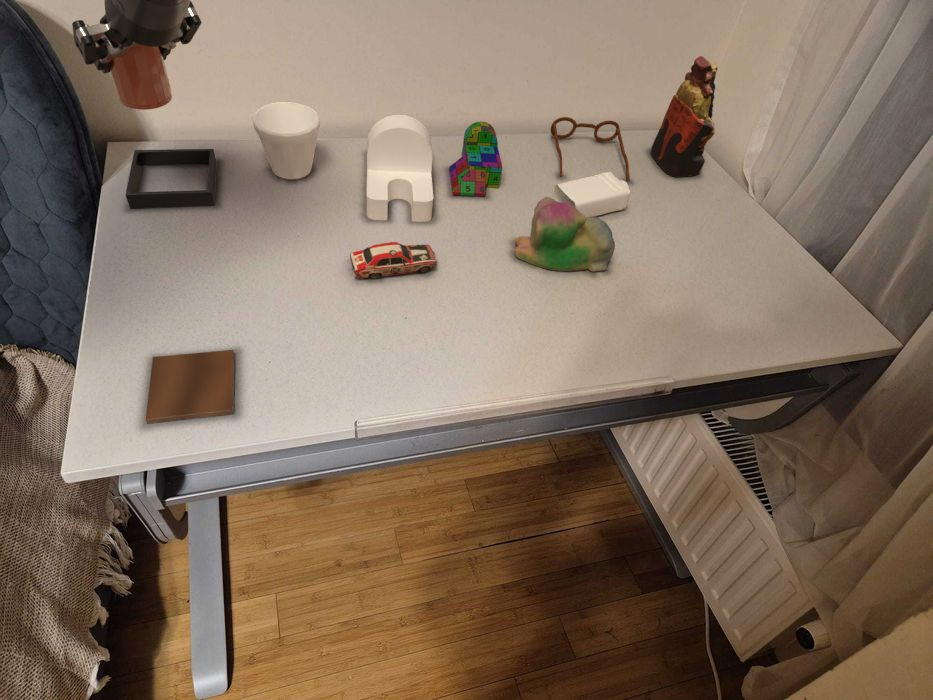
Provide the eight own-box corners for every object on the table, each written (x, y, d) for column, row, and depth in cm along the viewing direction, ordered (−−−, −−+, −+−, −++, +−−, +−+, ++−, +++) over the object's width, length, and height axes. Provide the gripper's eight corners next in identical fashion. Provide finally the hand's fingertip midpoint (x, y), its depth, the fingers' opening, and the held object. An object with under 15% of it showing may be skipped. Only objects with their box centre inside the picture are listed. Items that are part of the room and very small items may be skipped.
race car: (353, 266, 89) (346, 242, 86) (433, 252, 91) (430, 228, 87) (356, 290, 86) (350, 266, 83) (439, 275, 88) (437, 251, 84)
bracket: (432, 222, 96) (437, 158, 87) (366, 219, 94) (366, 154, 86) (426, 154, 108) (430, 92, 99) (368, 151, 106) (367, 88, 98)
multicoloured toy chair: (447, 155, 109) (450, 119, 103) (491, 157, 110) (497, 122, 105) (452, 195, 101) (457, 159, 96) (500, 197, 102) (507, 162, 97)
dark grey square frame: (130, 209, 89) (125, 194, 88) (138, 164, 97) (134, 149, 95) (214, 205, 92) (211, 192, 90) (216, 162, 99) (213, 148, 97)
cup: (263, 152, 103) (255, 99, 96) (324, 154, 104) (320, 102, 97) (257, 187, 96) (248, 133, 89) (322, 189, 98) (318, 136, 91)
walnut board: (147, 423, 67) (145, 419, 66) (154, 361, 73) (152, 356, 72) (233, 414, 69) (232, 410, 69) (234, 353, 75) (233, 349, 74)
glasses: (613, 143, 118) (621, 119, 114) (629, 182, 110) (638, 158, 106) (547, 138, 117) (553, 113, 113) (558, 177, 108) (565, 152, 104)
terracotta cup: (116, 109, 78) (95, 45, 72) (122, 85, 82) (103, 23, 76) (170, 109, 80) (154, 47, 74) (173, 86, 84) (158, 24, 78)
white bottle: (631, 210, 104) (639, 189, 101) (570, 225, 99) (577, 204, 96) (609, 188, 108) (616, 167, 105) (549, 202, 103) (554, 181, 100)
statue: (703, 178, 114) (754, 72, 99) (665, 179, 112) (711, 71, 97) (676, 143, 121) (719, 39, 106) (640, 143, 119) (678, 38, 104)
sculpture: (593, 236, 98) (612, 183, 91) (614, 271, 93) (636, 218, 86) (508, 242, 95) (519, 188, 87) (524, 279, 90) (538, 225, 82)
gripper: (195, -53, 67) (170, 19, 81) (56, -35, 60) (54, 41, 74) (228, 16, 69) (198, 75, 83) (97, 42, 62) (88, 102, 76)
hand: (130, 59), depth 78 cm, fingers closed on terracotta cup, 6 cm apart
